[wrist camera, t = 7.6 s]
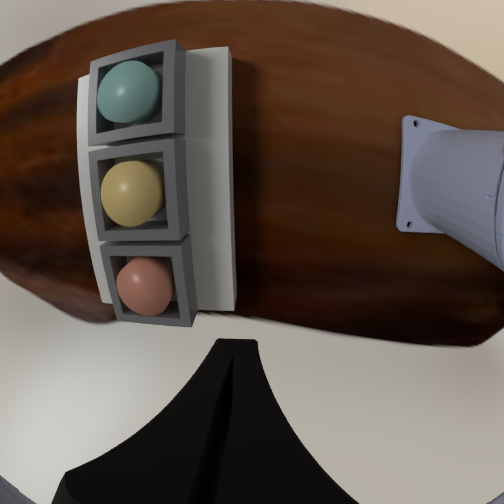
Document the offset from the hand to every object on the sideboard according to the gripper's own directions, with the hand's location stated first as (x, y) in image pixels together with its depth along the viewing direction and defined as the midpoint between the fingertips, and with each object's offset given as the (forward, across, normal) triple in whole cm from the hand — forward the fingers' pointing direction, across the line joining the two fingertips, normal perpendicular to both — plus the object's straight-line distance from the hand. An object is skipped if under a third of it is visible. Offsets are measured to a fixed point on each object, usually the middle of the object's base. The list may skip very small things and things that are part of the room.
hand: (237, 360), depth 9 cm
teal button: (+7, +6, -11) cm, 14 cm away
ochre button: (+7, +6, -5) cm, 11 cm away
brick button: (+7, +6, +1) cm, 10 cm away
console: (+10, +6, -5) cm, 13 cm away
